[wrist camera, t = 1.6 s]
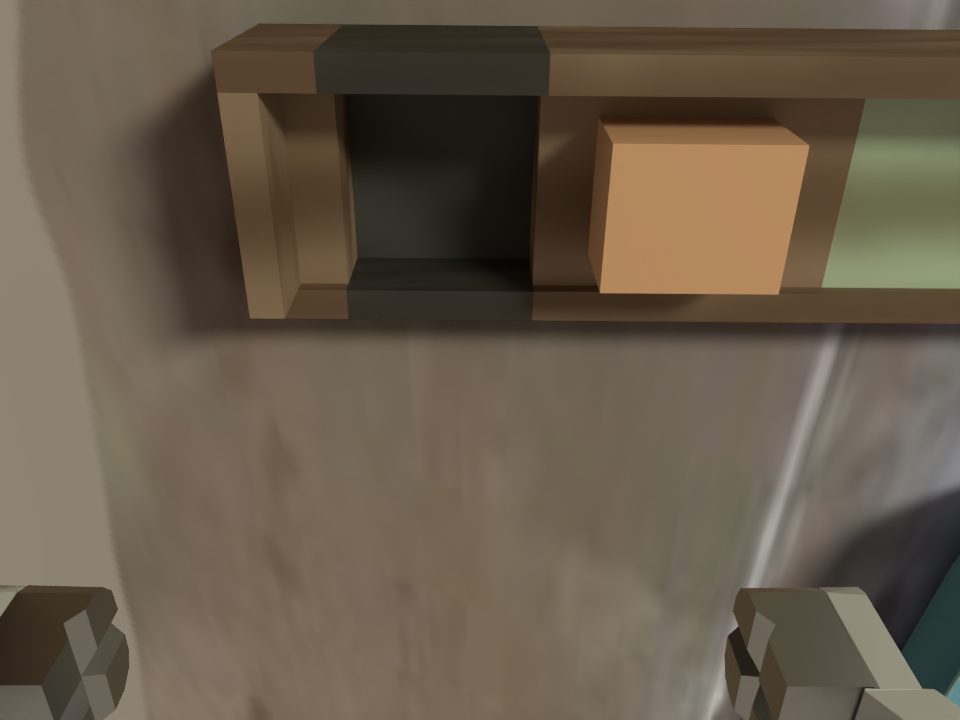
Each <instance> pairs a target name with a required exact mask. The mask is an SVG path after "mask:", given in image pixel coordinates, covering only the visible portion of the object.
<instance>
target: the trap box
mask: <svg viewBox="0 0 960 720" xmlns="http://www.w3.org/2000/svg"><path fill="white" fill-rule="evenodd" d="M211 54H212V61H213V68H214V74H215V81H216V88H217V95H218V102H219V109H220V116H221V123H222V129H223V136H224V143H225V150H226V157H227V164H228V171H229V178H230V184H231V191H232V198H233V205H234V212H235V219H236V226H237V233H238V239H239V246H240V253H241V260H242V267H243V274H244V281H245V288H246V294H247V301H248V308H249V315H250V318H259V319H404V320H532V321H661V322H789V323H917V324H960V30H876V29H769V28H662V27H555V26H448V25H341V24H258V25H256V26H254V27H252V28H251V29H249V30H247V31H245V32H244V33H242V34H240V35H238V36H236V37H235V38H233V39H231V40H229V41H227V42H226V43H224V44H222V45H220V46H219V47H217V48H215V49H213V50H211ZM599 117H649V118H762V119H775V120H776V121H778V122H779V123H780V124H782V125H783V126H784V127H786V128H787V129H788V130H790V131H791V132H792V133H794V134H795V135H796V136H798V137H799V138H800V139H802V140H803V141H804V142H806V143H807V144H808V145H810V146H809V151H808V156H807V161H806V166H805V170H804V175H803V180H802V185H801V190H800V194H799V199H798V204H797V209H796V214H795V218H794V223H793V228H792V233H791V238H790V242H789V247H788V252H787V257H786V262H785V267H784V271H783V276H782V281H781V286H780V291H779V295H771V294H645V293H600V292H599V289H598V285H597V282H596V279H595V276H594V272H593V269H592V266H591V262H590V259H589V256H588V245H589V232H590V220H591V207H592V194H593V182H594V169H595V157H596V144H597V131H598V119H599Z"/></svg>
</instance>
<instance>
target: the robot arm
mask: <svg viewBox="0 0 960 720" xmlns="http://www.w3.org/2000/svg"><path fill="white" fill-rule="evenodd" d="M117 610H118V609H117V605H116V602H115V599H114V596H113V594H112V591H111V590H109V589H106V588H103V587H69V586H32V585H28V586H1V585H0V720H103V719H104V718H106V717H107V716H108V715H110V714H111V713H112V712H113V711H115V710H116V708H117V706H118V703H119V701H120V699H121V696H122V694H123V692H124V689H125V684H126V679H127V674H128V669H129V649H128V645H127V641H126V638H125V634H123V633H122V632H121V631H120V630H119V629H117V628H116V627H115V626H114V625H113V624H111V622H112V620H113V618H114V616H115V614H116V612H117ZM733 612H734V615H735V618H736V620H737V623H738V627H737V628H736V629H735V630H734V631H733V632H732V633H730V634H729V635H728V638H727V644H726V650H725V677H726V682H727V687H728V692H729V696H730V699H731V702H732V706H733V709H734V711H735V712H736V713H737V714H739V715H740V716H741V717H742V718H743V719H744V720H960V707H959V706H958V705H956V704H955V703H953V702H952V701H951V700H949V699H948V698H946V697H945V696H944V695H942V694H941V693H939V692H938V691H936V690H935V689H922V687H921V686H920V684H919V682H918V681H917V679H916V677H915V676H914V674H913V672H912V671H911V669H910V667H909V666H908V664H907V662H906V661H905V659H904V657H903V656H902V654H901V652H900V650H899V649H898V647H897V645H896V644H895V642H894V640H893V639H892V637H891V635H890V634H889V632H888V630H887V629H886V627H885V625H884V624H883V622H882V620H881V619H880V617H879V615H878V613H877V612H876V610H875V608H874V607H873V605H872V603H871V602H870V600H869V598H868V597H867V595H866V593H865V592H864V591H862V590H861V589H860V588H858V587H819V588H741V589H740V591H739V592H738V594H737V595H736V599H735V604H734V608H733Z"/></svg>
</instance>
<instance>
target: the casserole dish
mask: <svg viewBox="0 0 960 720" xmlns="http://www.w3.org/2000/svg"><path fill="white" fill-rule="evenodd" d="M901 654H902V656H903V657H904V659H905V661H906V662H907V664H908V666H909V667H910V669H911V671H912V672H913V674H914V676H915V677H916V679H917V681H918V682H919V684H920V686H921V687H922V689H935V690H936V691H938V692H939V693H941V694H942V695H944V696H945V697H946V698H948V699H949V700H951V701H952V702H953V703H955V704H956V705H958V706H959V707H960V554H959V556H958V557H957V559H956V560H955V562H954V563H953V565H952V566H951V568H950V569H949V571H948V572H947V574H946V576H945V577H944V579H943V581H942V583H941V584H940V586H939V588H938V590H937V591H936V593H935V595H934V596H933V598H932V600H931V602H930V603H929V605H928V607H927V608H926V610H925V612H924V614H923V615H922V617H921V619H920V621H919V622H918V624H917V626H916V627H915V629H914V631H913V633H912V634H911V636H910V638H909V640H908V641H907V643H906V645H905V646H904V648H903V650H902V652H901Z"/></svg>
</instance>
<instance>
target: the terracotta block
mask: <svg viewBox="0 0 960 720" xmlns="http://www.w3.org/2000/svg"><path fill="white" fill-rule="evenodd" d="M809 146H810V145H808V144H807V143H806V142H804V141H803V140H802V139H800V138H799V137H798V136H796V135H795V134H794V133H792V132H791V131H790V130H788V129H787V128H786V127H784V126H783V125H782V124H780V123H779V122H778V121H776V120H775V119H762V118H649V117H599V119H598V131H597V144H596V157H595V169H594V182H593V194H592V207H591V220H590V232H589V245H588V256H589V259H590V262H591V266H592V269H593V272H594V276H595V279H596V282H597V285H598V289H599V292H600V293H645V294H771V295H779V291H780V286H781V281H782V276H783V271H784V267H785V262H786V257H787V252H788V247H789V242H790V238H791V233H792V228H793V223H794V218H795V214H796V209H797V204H798V199H799V194H800V190H801V185H802V180H803V175H804V170H805V166H806V161H807V156H808V151H809Z"/></svg>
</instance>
